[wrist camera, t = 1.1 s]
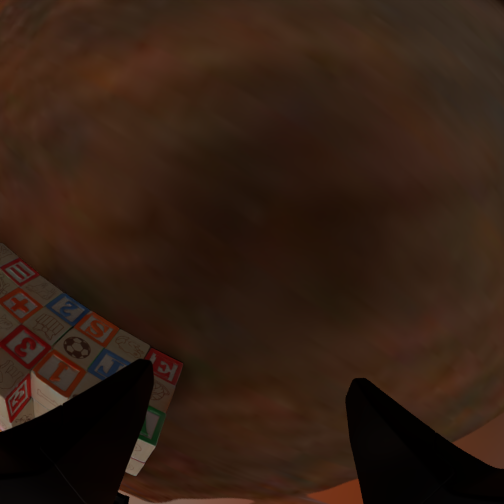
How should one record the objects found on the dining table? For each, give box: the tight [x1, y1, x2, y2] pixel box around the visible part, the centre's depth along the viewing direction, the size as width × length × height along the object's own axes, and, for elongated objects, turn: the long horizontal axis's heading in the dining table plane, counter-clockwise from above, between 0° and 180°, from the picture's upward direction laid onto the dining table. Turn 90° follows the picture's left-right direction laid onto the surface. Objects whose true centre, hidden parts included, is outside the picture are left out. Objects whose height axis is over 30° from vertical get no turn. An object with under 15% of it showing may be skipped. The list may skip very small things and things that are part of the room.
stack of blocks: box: [0, 243, 183, 476], centre depth 16 cm, size 21×6×12 cm, turn 61°
